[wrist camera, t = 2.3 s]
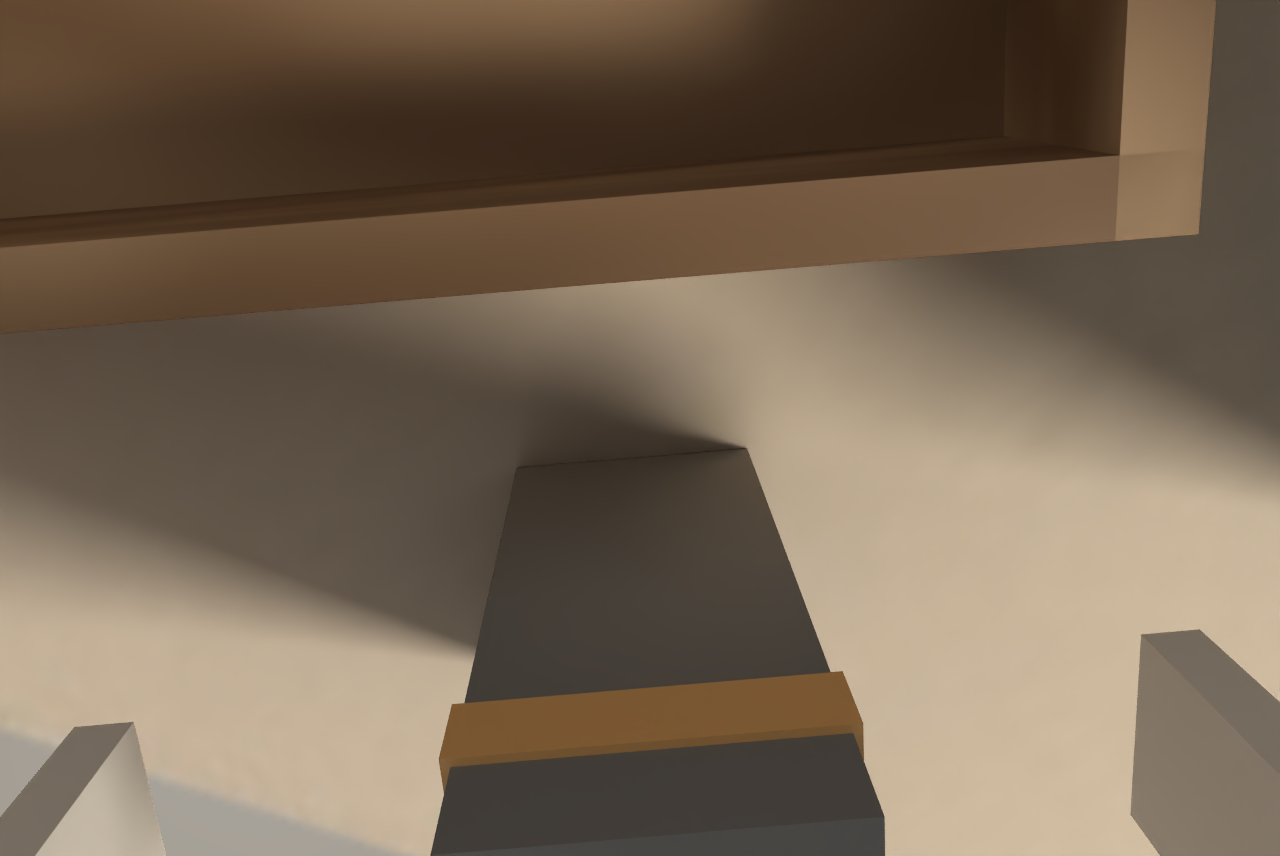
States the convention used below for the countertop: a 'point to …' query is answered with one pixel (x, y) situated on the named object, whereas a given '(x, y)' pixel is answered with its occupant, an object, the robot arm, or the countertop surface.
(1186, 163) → the walled box
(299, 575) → the countertop surface
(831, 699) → the block
